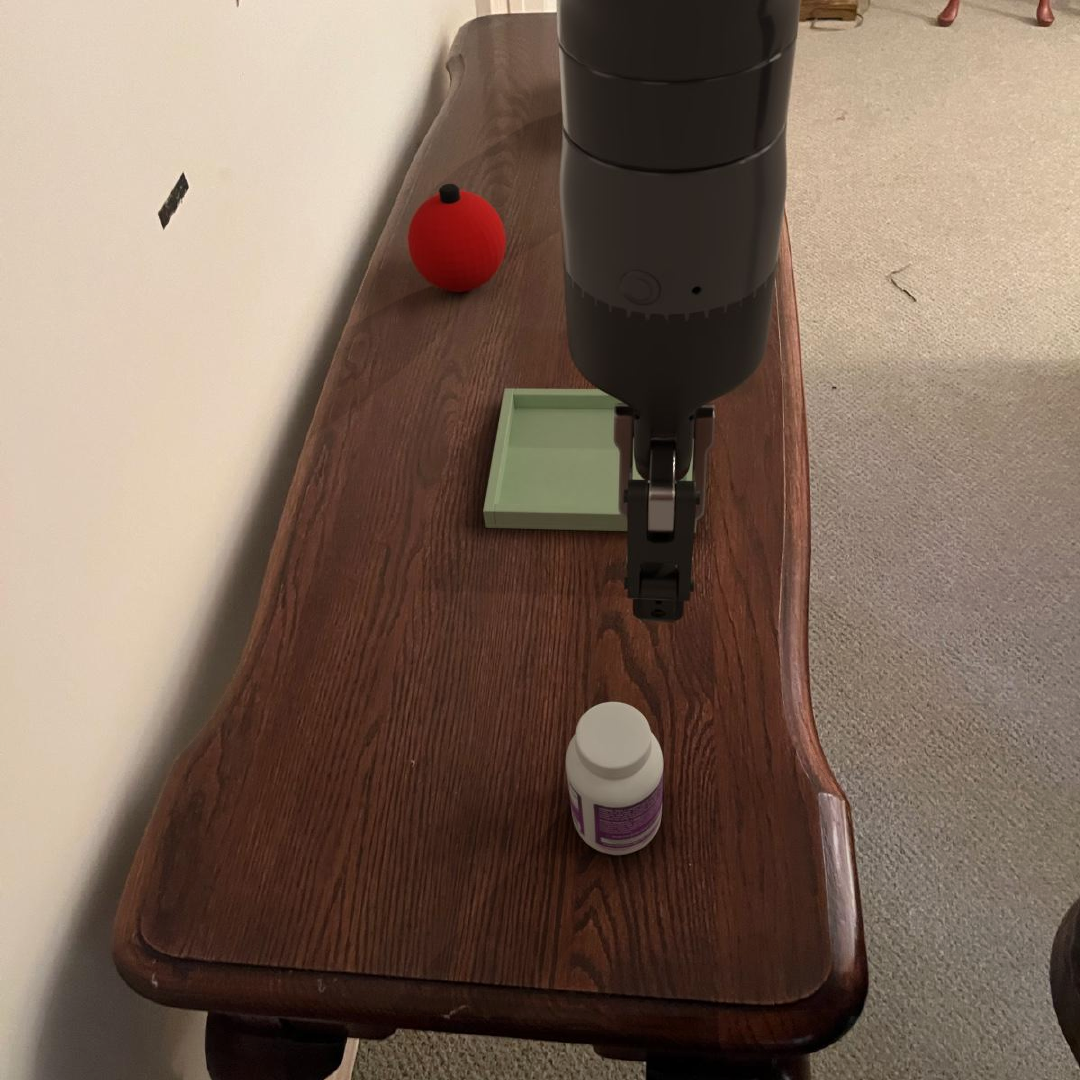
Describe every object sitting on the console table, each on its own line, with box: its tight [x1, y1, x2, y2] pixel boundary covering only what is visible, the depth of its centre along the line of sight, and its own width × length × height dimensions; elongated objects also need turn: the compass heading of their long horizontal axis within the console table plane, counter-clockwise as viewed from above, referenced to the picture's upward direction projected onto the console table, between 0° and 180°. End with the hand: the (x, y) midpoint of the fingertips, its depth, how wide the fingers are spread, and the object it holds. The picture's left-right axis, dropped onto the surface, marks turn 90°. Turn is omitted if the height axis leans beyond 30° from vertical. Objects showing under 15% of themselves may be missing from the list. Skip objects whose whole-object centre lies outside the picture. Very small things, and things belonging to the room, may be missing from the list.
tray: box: [482, 387, 698, 534], centre depth 77 cm, size 16×14×2 cm
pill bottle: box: [565, 701, 665, 856], centre depth 56 cm, size 5×5×10 cm
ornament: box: [407, 183, 507, 293], centre depth 91 cm, size 9×9×10 cm
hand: (660, 540), depth 47 cm, fingers open, 8 cm apart
